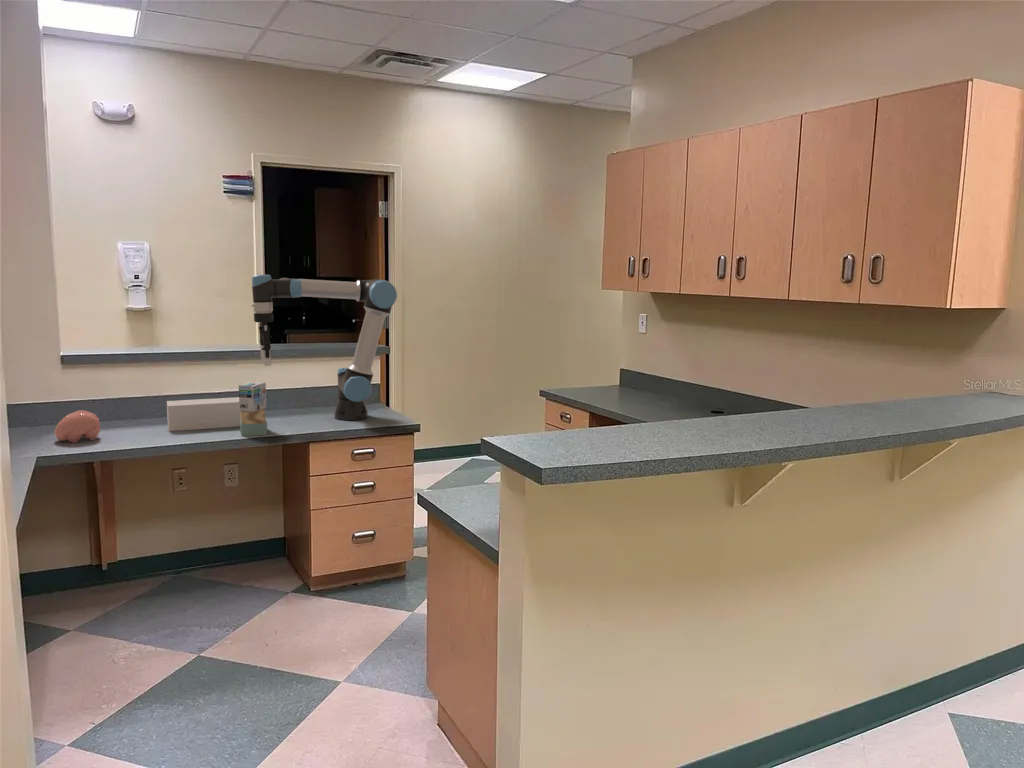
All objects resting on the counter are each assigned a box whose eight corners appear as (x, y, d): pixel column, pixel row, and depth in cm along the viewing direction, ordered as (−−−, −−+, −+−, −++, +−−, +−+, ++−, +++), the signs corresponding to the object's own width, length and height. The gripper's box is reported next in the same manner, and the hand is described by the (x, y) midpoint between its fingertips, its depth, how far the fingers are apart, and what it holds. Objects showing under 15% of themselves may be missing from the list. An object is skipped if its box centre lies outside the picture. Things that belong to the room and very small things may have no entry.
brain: (61, 455, 278) (44, 427, 274) (68, 446, 290) (51, 419, 286) (104, 436, 282) (87, 408, 278) (109, 428, 294) (93, 401, 290)
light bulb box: (254, 412, 298) (253, 386, 296) (238, 411, 299) (237, 385, 297) (267, 407, 308) (266, 381, 306) (252, 406, 309) (251, 381, 307)
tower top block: (263, 418, 310) (263, 406, 309) (265, 423, 302) (265, 411, 301) (240, 419, 306) (240, 408, 305) (241, 424, 298) (241, 412, 297)
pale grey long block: (247, 420, 326) (246, 396, 324) (250, 425, 317) (249, 401, 315) (167, 425, 312) (166, 401, 310) (168, 431, 303) (167, 406, 301)
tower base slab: (265, 429, 312) (264, 418, 311) (267, 435, 303) (267, 423, 302) (240, 431, 308) (239, 419, 307) (241, 436, 299) (241, 424, 298)
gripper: (251, 310, 314) (254, 359, 318) (256, 315, 291) (259, 368, 295) (269, 309, 317) (272, 358, 321) (276, 314, 294) (278, 367, 298)
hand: (266, 363), depth 308 cm, fingers open, 13 cm apart
